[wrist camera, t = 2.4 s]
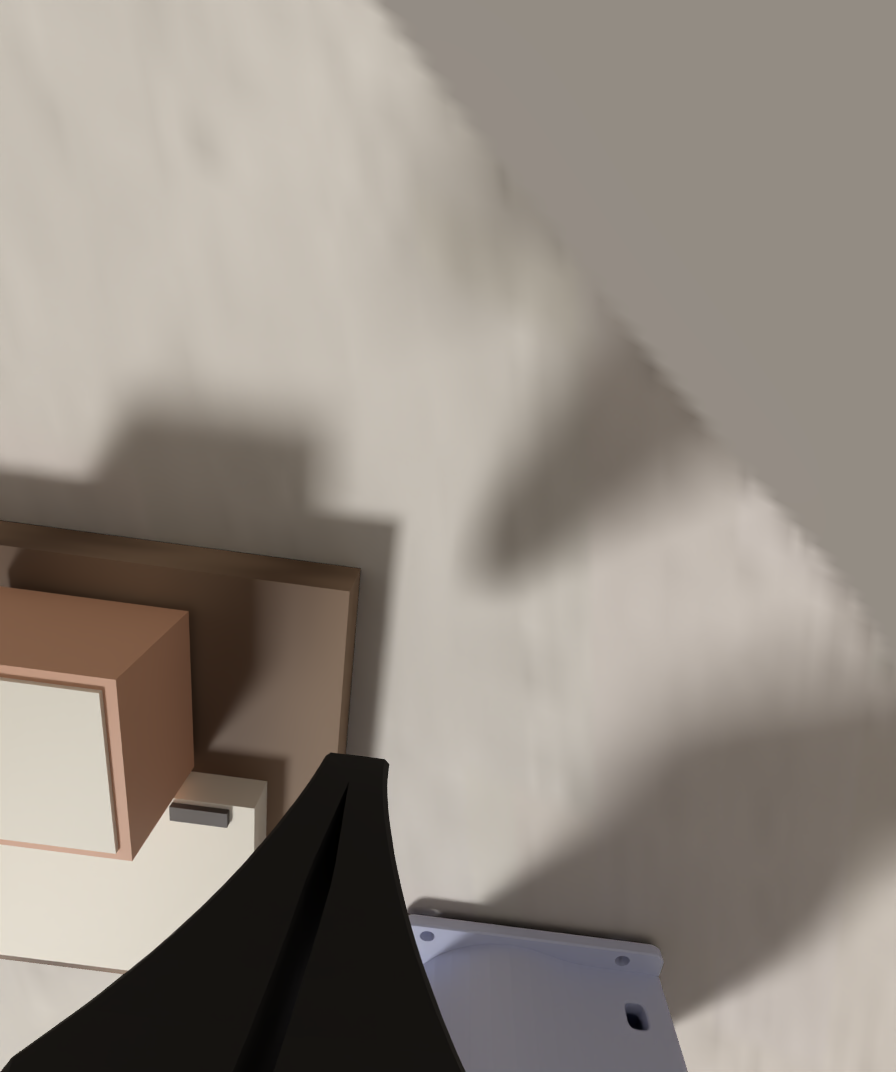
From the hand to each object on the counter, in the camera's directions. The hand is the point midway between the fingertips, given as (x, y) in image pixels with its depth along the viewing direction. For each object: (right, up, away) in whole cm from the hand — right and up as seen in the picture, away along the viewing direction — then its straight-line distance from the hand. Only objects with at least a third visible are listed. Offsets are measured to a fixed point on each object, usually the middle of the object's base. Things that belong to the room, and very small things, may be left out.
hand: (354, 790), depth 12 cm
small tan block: (-7, +2, +2) cm, 8 cm away
